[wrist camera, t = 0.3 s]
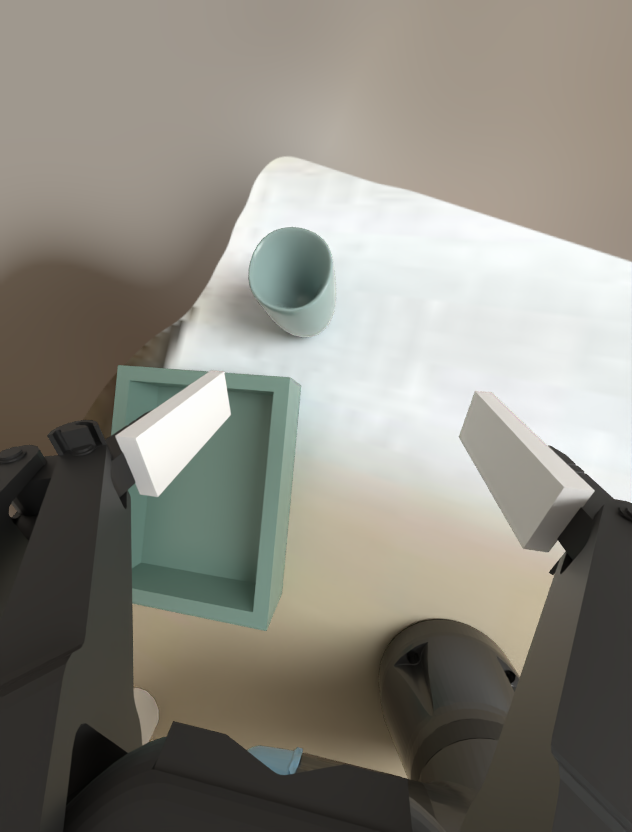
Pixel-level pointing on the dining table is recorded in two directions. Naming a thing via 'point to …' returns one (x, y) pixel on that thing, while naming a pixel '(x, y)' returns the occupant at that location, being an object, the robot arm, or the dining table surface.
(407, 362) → the dining table surface
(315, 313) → the cup
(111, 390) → the dining table surface
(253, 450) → the tray
